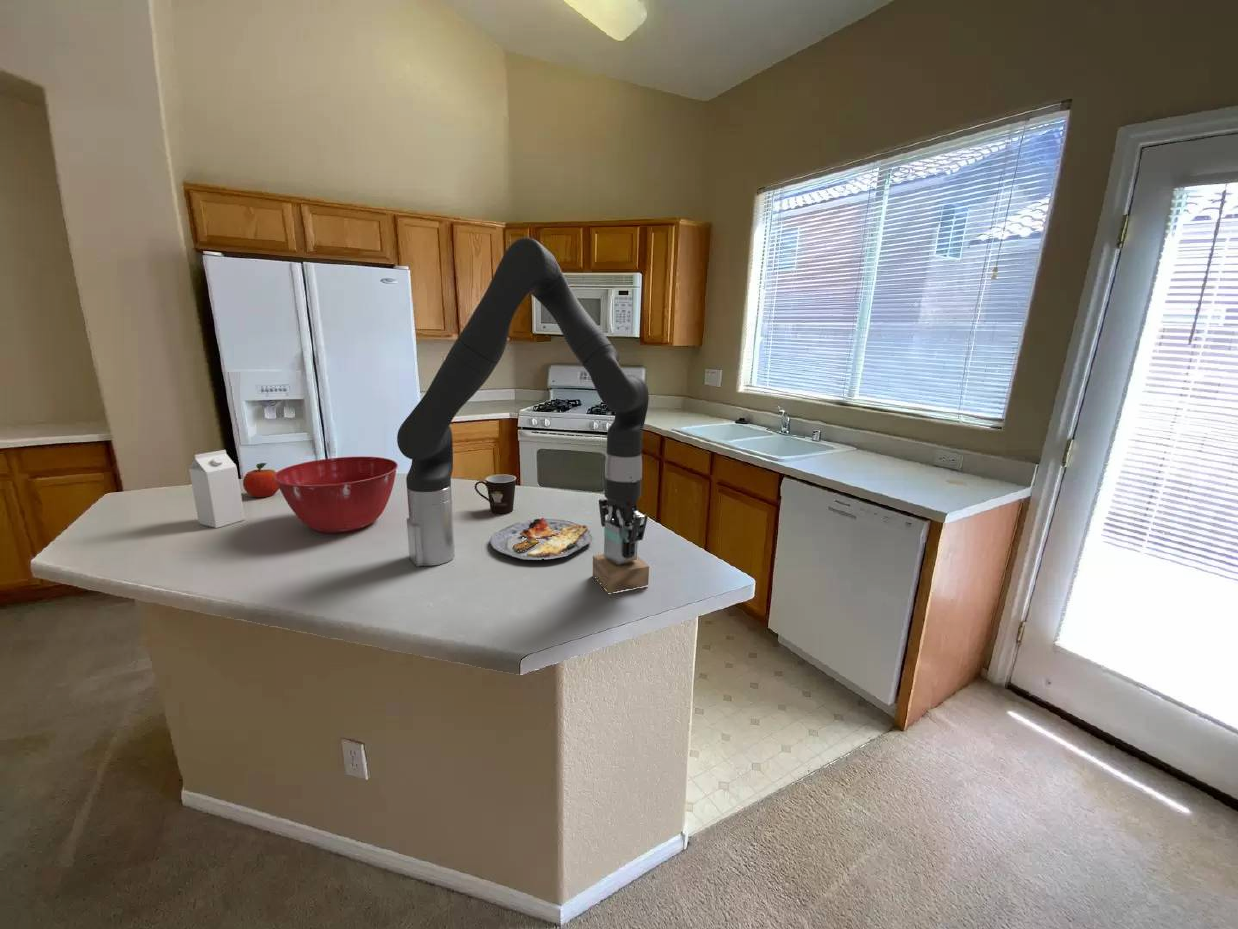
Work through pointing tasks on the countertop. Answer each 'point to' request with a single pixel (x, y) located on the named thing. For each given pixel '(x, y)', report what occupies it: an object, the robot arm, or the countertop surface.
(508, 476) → the coffee mug
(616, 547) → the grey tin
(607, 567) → the tan block
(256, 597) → the countertop surface
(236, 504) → the milk carton
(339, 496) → the mixing bowl
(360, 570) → the countertop surface
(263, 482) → the fruit
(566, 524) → the food plate
